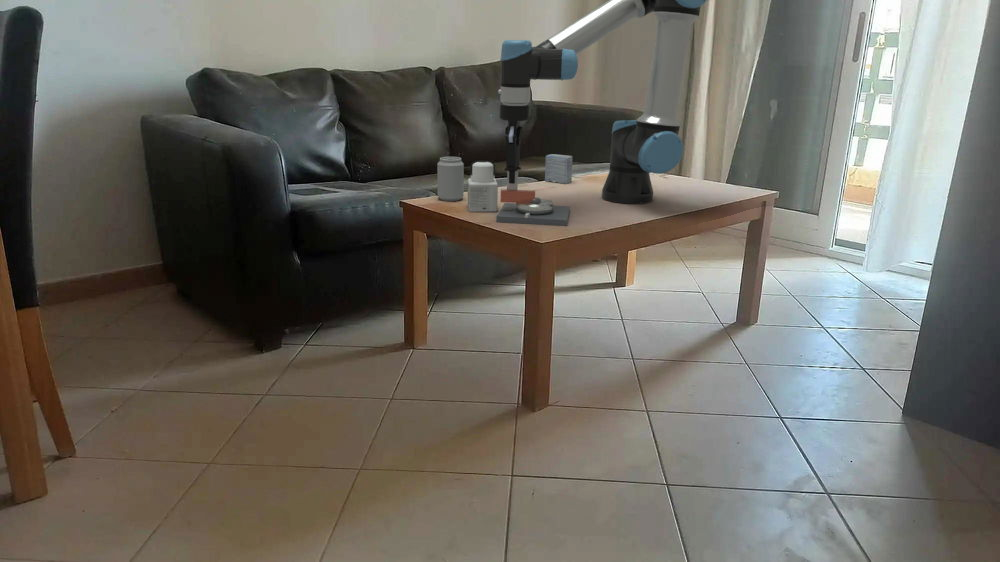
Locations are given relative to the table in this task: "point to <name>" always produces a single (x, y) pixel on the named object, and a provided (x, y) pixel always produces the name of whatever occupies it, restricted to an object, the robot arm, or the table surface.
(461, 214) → the table surface
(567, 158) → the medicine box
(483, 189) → the container
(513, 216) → the plate
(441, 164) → the can
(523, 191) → the dial
